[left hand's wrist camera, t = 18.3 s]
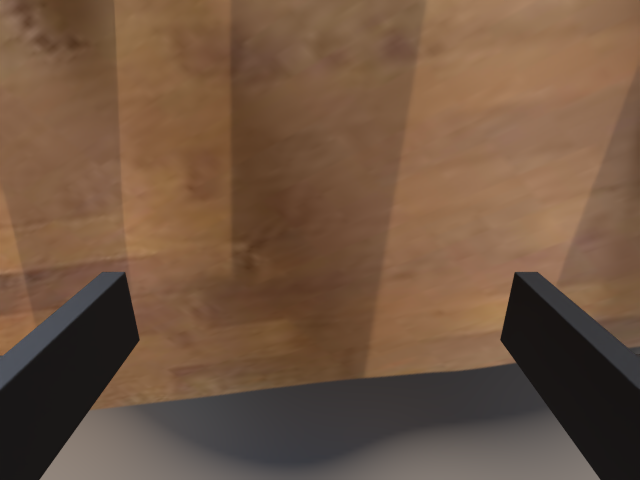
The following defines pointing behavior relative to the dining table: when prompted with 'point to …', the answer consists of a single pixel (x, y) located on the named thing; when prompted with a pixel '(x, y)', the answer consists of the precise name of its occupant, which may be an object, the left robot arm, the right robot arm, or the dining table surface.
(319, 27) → the dining table surface
